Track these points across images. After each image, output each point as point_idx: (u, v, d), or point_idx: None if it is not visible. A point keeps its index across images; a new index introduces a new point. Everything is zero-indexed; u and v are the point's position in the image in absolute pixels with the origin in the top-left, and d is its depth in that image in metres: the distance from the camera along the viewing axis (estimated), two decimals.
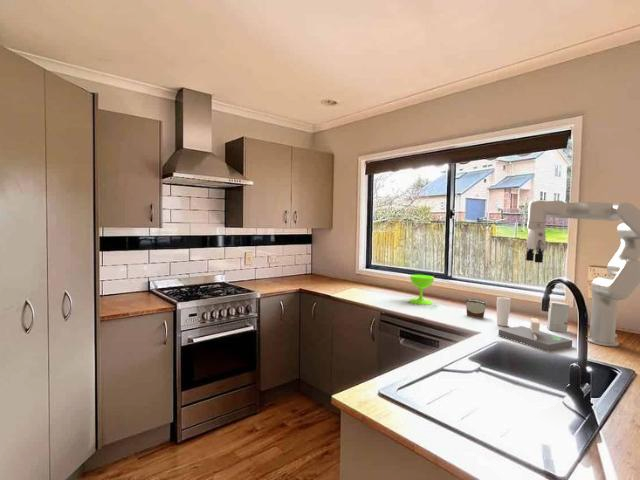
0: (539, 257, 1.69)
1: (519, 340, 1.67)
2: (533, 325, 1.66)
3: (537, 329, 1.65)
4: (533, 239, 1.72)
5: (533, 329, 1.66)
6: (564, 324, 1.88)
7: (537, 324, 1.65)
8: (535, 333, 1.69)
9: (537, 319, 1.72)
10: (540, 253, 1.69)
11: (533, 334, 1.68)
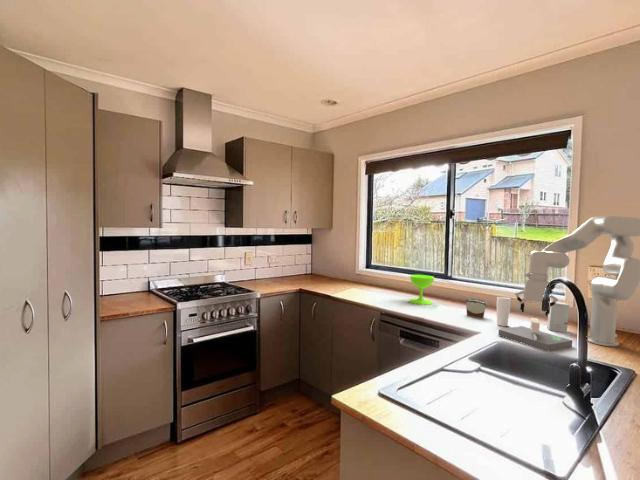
0: None
1: (519, 340, 1.67)
2: (533, 325, 1.66)
3: (537, 329, 1.65)
4: None
5: (533, 329, 1.66)
6: (564, 324, 1.88)
7: (537, 324, 1.65)
8: (535, 333, 1.69)
9: (537, 319, 1.72)
10: (520, 302, 1.72)
11: (533, 334, 1.68)
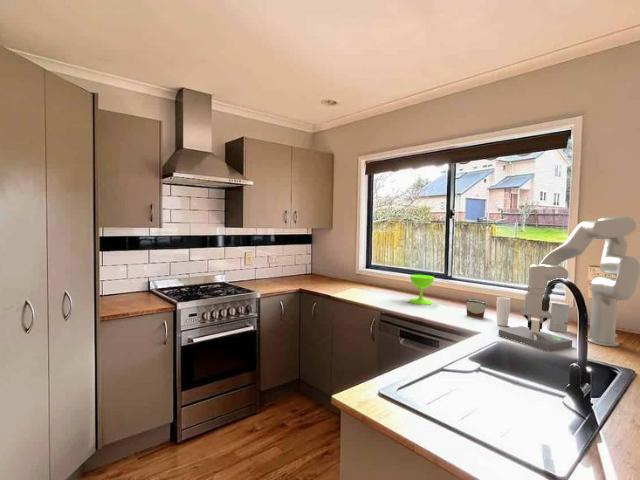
0: None
1: (519, 340, 1.67)
2: (533, 325, 1.66)
3: (537, 329, 1.65)
4: None
5: (533, 329, 1.66)
6: (564, 324, 1.88)
7: (537, 324, 1.65)
8: (535, 333, 1.69)
9: (537, 319, 1.72)
10: (527, 319, 1.71)
11: (533, 334, 1.68)
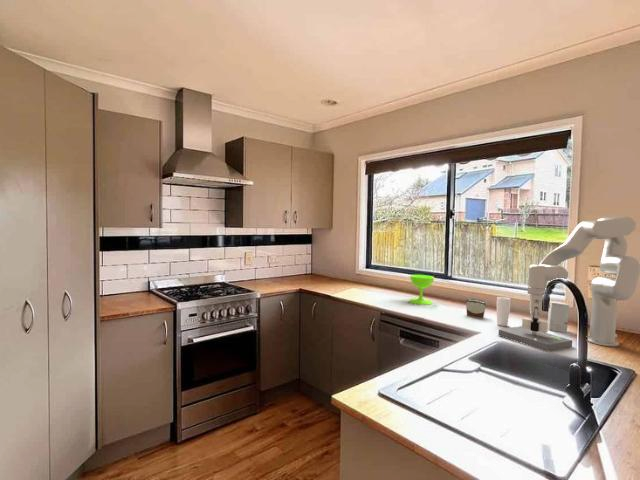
0: (534, 326, 1.67)
1: (519, 340, 1.67)
2: (546, 326, 1.66)
3: (547, 328, 1.67)
4: (530, 305, 1.68)
5: (546, 330, 1.66)
6: (564, 324, 1.88)
7: (547, 324, 1.67)
8: (536, 333, 1.70)
9: None
10: (535, 322, 1.67)
11: (541, 334, 1.68)
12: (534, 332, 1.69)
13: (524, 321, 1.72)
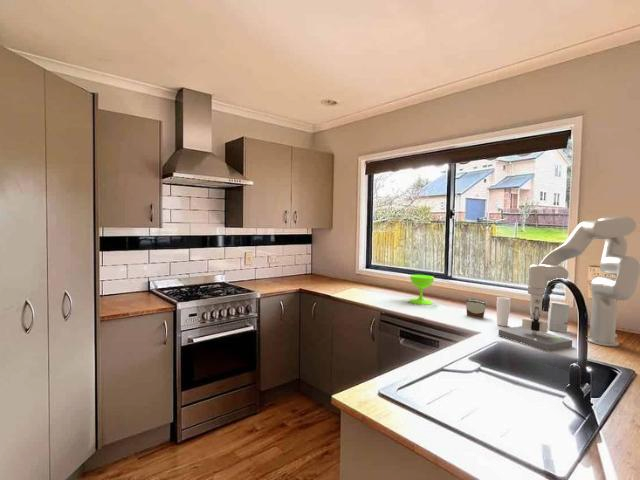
0: (535, 325, 1.66)
1: (519, 340, 1.67)
2: (547, 325, 1.66)
3: (547, 328, 1.68)
4: (531, 305, 1.68)
5: (546, 329, 1.66)
6: (564, 324, 1.88)
7: (547, 323, 1.67)
8: (536, 333, 1.70)
9: None
10: (536, 321, 1.65)
11: (541, 334, 1.68)
12: (534, 332, 1.69)
13: (524, 321, 1.71)
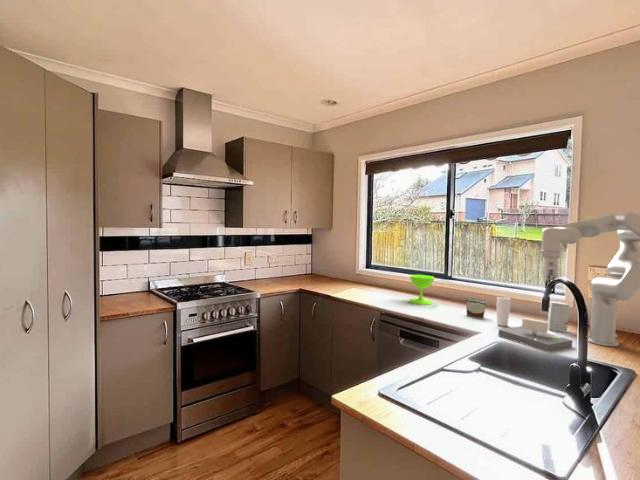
0: None
1: (519, 340, 1.67)
2: (547, 325, 1.66)
3: (547, 328, 1.68)
4: (545, 268, 1.65)
5: (546, 329, 1.66)
6: (564, 324, 1.88)
7: (547, 323, 1.67)
8: (536, 333, 1.70)
9: None
10: None
11: (541, 334, 1.68)
12: (534, 332, 1.69)
13: (524, 321, 1.71)
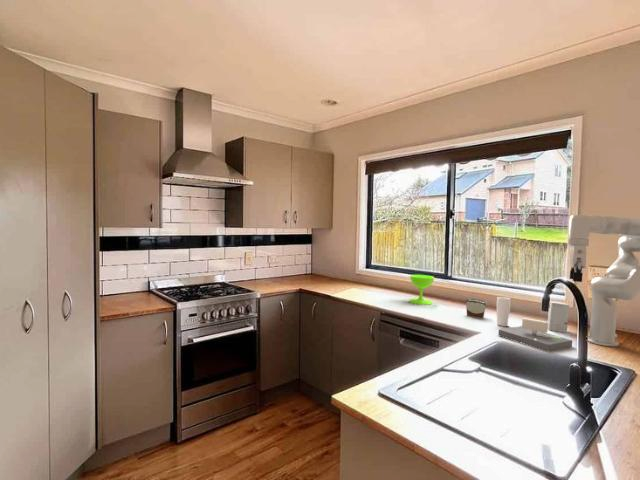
0: (577, 276, 1.58)
1: (519, 340, 1.67)
2: (547, 325, 1.66)
3: (547, 328, 1.68)
4: (572, 256, 1.61)
5: (546, 329, 1.66)
6: (564, 324, 1.88)
7: (547, 323, 1.67)
8: (536, 333, 1.70)
9: None
10: (578, 272, 1.57)
11: (541, 334, 1.68)
12: (534, 332, 1.69)
13: (524, 321, 1.71)
